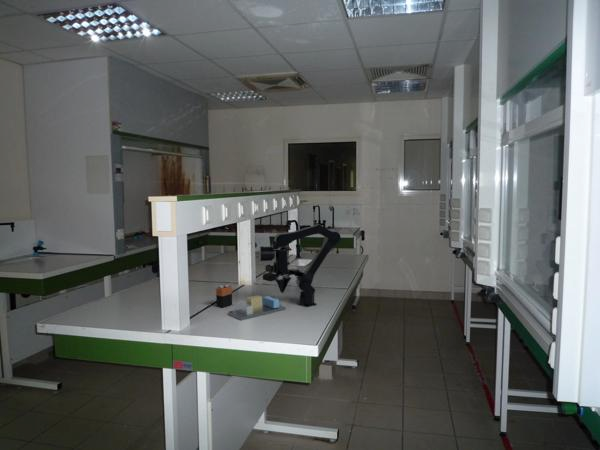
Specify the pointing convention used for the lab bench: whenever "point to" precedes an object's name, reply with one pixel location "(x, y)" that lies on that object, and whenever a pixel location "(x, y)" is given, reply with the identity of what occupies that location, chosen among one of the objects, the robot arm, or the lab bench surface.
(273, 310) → the vise
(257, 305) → the brass block
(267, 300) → the block
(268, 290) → the lab bench surface
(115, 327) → the lab bench surface
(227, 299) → the battery
